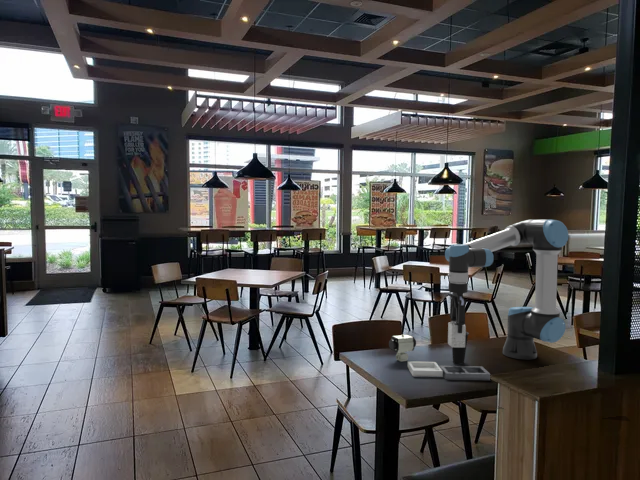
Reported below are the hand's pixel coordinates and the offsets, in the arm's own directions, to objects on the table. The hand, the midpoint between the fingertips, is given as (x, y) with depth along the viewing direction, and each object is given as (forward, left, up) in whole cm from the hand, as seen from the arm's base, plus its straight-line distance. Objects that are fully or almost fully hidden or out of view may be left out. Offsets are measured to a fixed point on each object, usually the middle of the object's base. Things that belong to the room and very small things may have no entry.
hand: (456, 338), depth 200 cm
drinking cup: (-7, -18, -16) cm, 25 cm away
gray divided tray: (-4, 0, -15) cm, 16 cm away
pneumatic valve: (+18, -19, -16) cm, 31 cm away
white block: (0, 0, -3) cm, 3 cm away
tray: (+12, -4, -15) cm, 20 cm away
